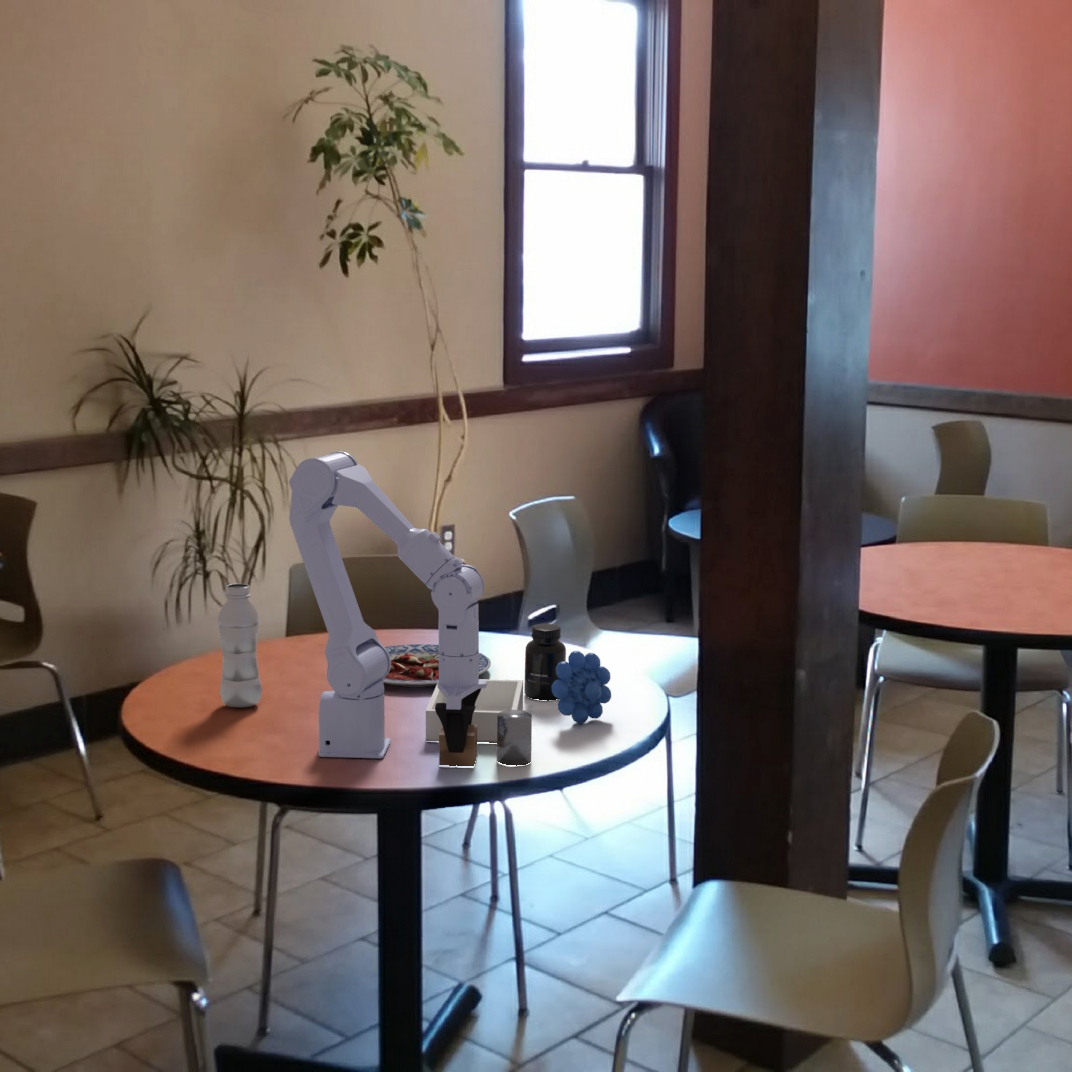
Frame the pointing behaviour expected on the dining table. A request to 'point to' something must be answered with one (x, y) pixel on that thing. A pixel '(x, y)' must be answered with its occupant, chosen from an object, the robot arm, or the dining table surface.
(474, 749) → the walnut cube
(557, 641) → the supplement bottle
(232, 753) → the dining table surface
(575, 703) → the blue knobbed flower shape
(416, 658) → the ceramic plate
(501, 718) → the grey metal cylinder
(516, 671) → the dining table surface
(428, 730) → the box
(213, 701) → the dining table surface
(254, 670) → the plastic bottle
